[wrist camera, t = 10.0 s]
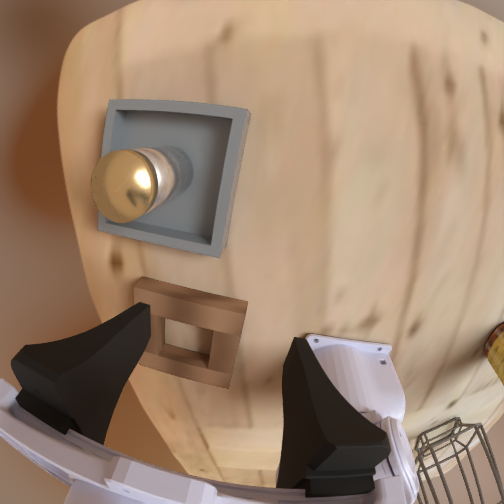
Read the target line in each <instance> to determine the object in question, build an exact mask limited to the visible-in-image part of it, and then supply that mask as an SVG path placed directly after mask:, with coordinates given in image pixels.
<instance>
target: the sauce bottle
mask: <svg viewBox="0 0 504 504" xmlns="http://www.w3.org/2000/svg"><path fill="white" fill-rule="evenodd" d="M484 352H485V355H486V356H487V358H488V361H489V363H490V364H491V366H492V367H493V369H494V370H495V372H496V374H497V375H498V377H499V378H500V380H501V382H502V383H503V385H504V324H501V325H499V326H498V327H497V328H496V330H495V331H494V332H493V333H492V334H491V336H490V338H489V339H488V341H487V343H486V346H485V350H484Z"/></svg>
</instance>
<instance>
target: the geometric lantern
mask: <svg viewBox="0 0 504 504" xmlns="http://www.w3.org/2000/svg"><path fill="white" fill-rule="evenodd" d="M457 419H458V420H457ZM454 420H456V422H457V423H456V425H455V427H454V428H452V429H450V430H448V431H446V432H444V433H442V434H440V435H438V436H436V437H434V438H431V439H429V440H428V438H427V436H426V433H428V432H430V431H433V430H435V429H437V428H439V427H442V426H444V425H446V424H448V423H450V422H452V421H454ZM459 422H460V424H459ZM457 424H458V426H457ZM462 426H466V427H468V428H466V429H464V430H462V431H461V428H462ZM477 426H478V427H477ZM458 427H460V429H459V431H458V433H456V434H454V431H455V429H456V428H458ZM473 427H474V428H475V430H476V431H475V432H474V434H473V436H472V437H471V439H470V440H469V442H468V444H467V445H466V446H465V445H464V444H462V443H461V442H459V441H458V440H457V438H458V436H459V435H460V434H462V433H464V432H466V431H468V430H470V429H472V428H473ZM479 428H481V431H482V433H483V436H484V439H485V441H486V444H487V447H488V450H489V452H488V450H487V447H486V445H485V442H484V440H483V438H482V436H481V434H480V431H479ZM452 430H453V432H452V433H451V434H450V435H449V436H448V437H446V438H443V439H441V440H439V441H437V442H435V443H433V444H430V445H429V441H431V440H433V439H436V438H438V437H440V436H442V435H444V434H446V433H448V432H450V431H452ZM476 433H477V435H478V437H479V439H480V441H481V443H482V446H483V448H484V450H485V453H486V456H487V458H488V460H489V463H490V466H491V468H492V471H493V474H494V477H495V479H496V483H497V485H498V489H499V492H500V495H501V498H502V501H500V502H499V503H497V504H501V503H502V502H503V504H504V489H503V486H502V482H501V478H500V475H499V471H498V468H497V464H496V461H495V458H494V455H493V452H492V449H491V446H490V443H489V441H488V438H487V436H486V433H485V430H484V428H483V425H482V423H476V424H462V422H461V419H460V417H457V418H454V419H452V420H450V421H448V422H446V423H444V424H442V425H440V426H437V427H435V428H433V429H431V430H428V431H426V432H423V433H422V434H421V435H420V436H419V439H418V443H417V447H416V451H417V452H418V456H417V457H416V459H415V465H416V464H417V462H418V461H419V463H420V465H419V468H418V471H417V472H416V473H417V476H418V480H419V483H420V486H421V490H422V493H423V496H424V500H425V504H429V503H428V500H427V496H426V493H425V490H424V486H423V483H422V480H421V476H420V473H421V472H424V474H425V477H426V479H427V482H428V484H429V487H430V490H431V492H432V495H433V498H434V500H435V503H436V504H439V501H438V498H437V496H436V493H435V490H434V488H433V485H432V483H431V480H430V478H429V475H428V473H427V470H428V469H430V468H432V467H434V466H437V469H438V472H439V474H440V477H441V480H442V482H443V486H444V488H445V491H446V494H447V497H448V500H449V503H450V504H453V501H452V498H451V495H450V492H449V489H448V486H447V483H446V481H445V478H444V475H443V472H442V470H441V467H440V465H439V464H441V463H443V462H445V461H447V460H449V459H451V458H453V457H455V456H456V459H457V462H458V465H459V467H460V470H461V473H462V476H463V479H464V482H465V485H466V488H467V491H468V494H469V498H470V502H471V504H474V503H473V499H472V495H471V492H470V489H469V486H468V482H467V479H466V476H465V473H464V471H463V468H462V465H461V462H460V460H459V457H458V454H459V453H461V452H462V451H464V450H465V449H466V451H467V455H468V458H469V461H470V464H471V467H472V470H473V474H474V477H475V481H476V484H477V488H478V492H479V496H480V500H481V504H484V500H483V496H482V492H481V488H480V485H479V481H478V477H477V474H476V471H475V468H474V464H473V462H472V458H471V455H470V452H469V449H468V446H469V444H470V443H471V441H472V440H473V438H474V437H475V435H476ZM452 434H453V435H452ZM423 435H424V437H425V439H426V442H423V440H422V436H423ZM451 435H452V436H451ZM452 438H455V440H453V441H452ZM420 440H421V443H422V447H421V448H420V449H418V446H419V442H420ZM448 440H450V441H451V442H450V443H449V444H447V445H445V446H443V447H441V448H439V449H437V450H435V451H434V450H433V447H434V446H437V445H439V444H441V443H443V442H446V441H448ZM455 441H456V442H457V443H459V444H460V445H462V446H463V447H464V448H463V449H462V450H460V451H459V452H456V449H455V446H454V443H453V442H455ZM426 443H427V446H426V447H424V446H425V444H426ZM450 444H452V446H453V449H454V452H455V454H454V455H452V456H450V457H448V458H446V459H444V460H442V461H440V462H438V459H437V457H436V454H435V452H437V451H439V450H440V449H442V448H444V447H446V446H448V445H450ZM425 448H426V449H425ZM423 449H425V450H424V451H423ZM429 449H430V451H431V453H429V454H427V455H425V456H424V453H425V452H426V451H427V450H429ZM419 450H420V452H419ZM489 453H490V455H489ZM430 454H432V456H433V459H434V461H435V464H434V465H431V466H429V467H427V468H425V466H424V463H423V461H422V460H423V458H424V457H426V456H428V455H430ZM490 456H491V457H490ZM420 467H422V470H420ZM419 470H420V471H419ZM417 499H418V501H419V504H423V503H422V501H421V498H420V495H419V493H417Z"/></svg>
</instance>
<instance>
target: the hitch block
mask: <svg viewBox="0 0 504 504" xmlns="http://www.w3.org/2000/svg"><path fill="white" fill-rule="evenodd" d="M133 292H134V305H135V304H137V303H139V302H142V303H145V304H149V305H150V310H151V337H150V339H149V342H148V344H147V347H146V349H145V351H144V353H143V355H142V356H141V358H140V360H139V361H138V363H139V364H140V365H143V366H146V367H149V368H152V369H155V370H158V371H161V372H165V373H168V374H171V375H175V376H178V377H182V378H186V379H189V380H193V381H197V382H201V383H205V384H209V385H213V386H218V387H222V388H227V389H229V385H230V381H231V377H232V372H233V368H234V364H235V359H236V355H237V350H238V346H239V342H240V337H241V333H242V328H243V324H244V320H245V315H246V310H247V305H248V302H247V301H242V300H238V299H233V298H229V297H224V296H220V295H215V294H211V293H207V292H202V291H198V290H194V289H190V288H186V287H182V286H178V285H174V284H170V283H166V282H162V281H158V280H154V279H150V278H147V277H142V278H141V279H140V280H139V281H138V282H137V283H136V284H135V285H134V286H133ZM165 318H168V319H171V320H175V321H179V322H182V323H186V324H190V325H194V326H198V327H202V328H206V329H210V330H214V331H213V338H212V345H211V351H210V355H206V354H202V353H198V352H194V351H190V350H186V349H182V348H179V347H175V346H172V345H168V344H165Z"/></svg>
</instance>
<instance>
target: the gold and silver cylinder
mask: <svg viewBox="0 0 504 504" xmlns="http://www.w3.org/2000/svg"><path fill="white" fill-rule="evenodd" d="M192 179H193V165H192V162H191V160H190V158H189V156H188V155H187V154H186V153H185V152H184V151H183V150H181V149H179V148H177V147H172V146H166V147H150V148H137V149H126V150H116V151H112V152H109V153H108V154H106V155H104V156H103V157H102V158H101V159H100V160H99V161H98V163H97V164H96V166H95V168H94V171H93V174H92V178H91V192H92V197H93V200H94V203H95V205H96V207H97V208H98V210H99V211H100V212H101V213H102V214H103V215H104V216H105V217H106V218H107V219H109V220H111V221H113V222H116V223H128V222H131V221H133V220H135V219H137V218H138V217H140V216H142V215H144V214H146V213H148V212H149V211H151V210H153V209H155V208H157V207H159V206H160V205H162V204H164V203H166V202H168V201H170V200H172V199H174V198H176V197H178V196H179V195H181V194H183V193H184V192H185V191H186V190H187V189H188V188H189V186H190V184H191V182H192Z"/></svg>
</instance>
